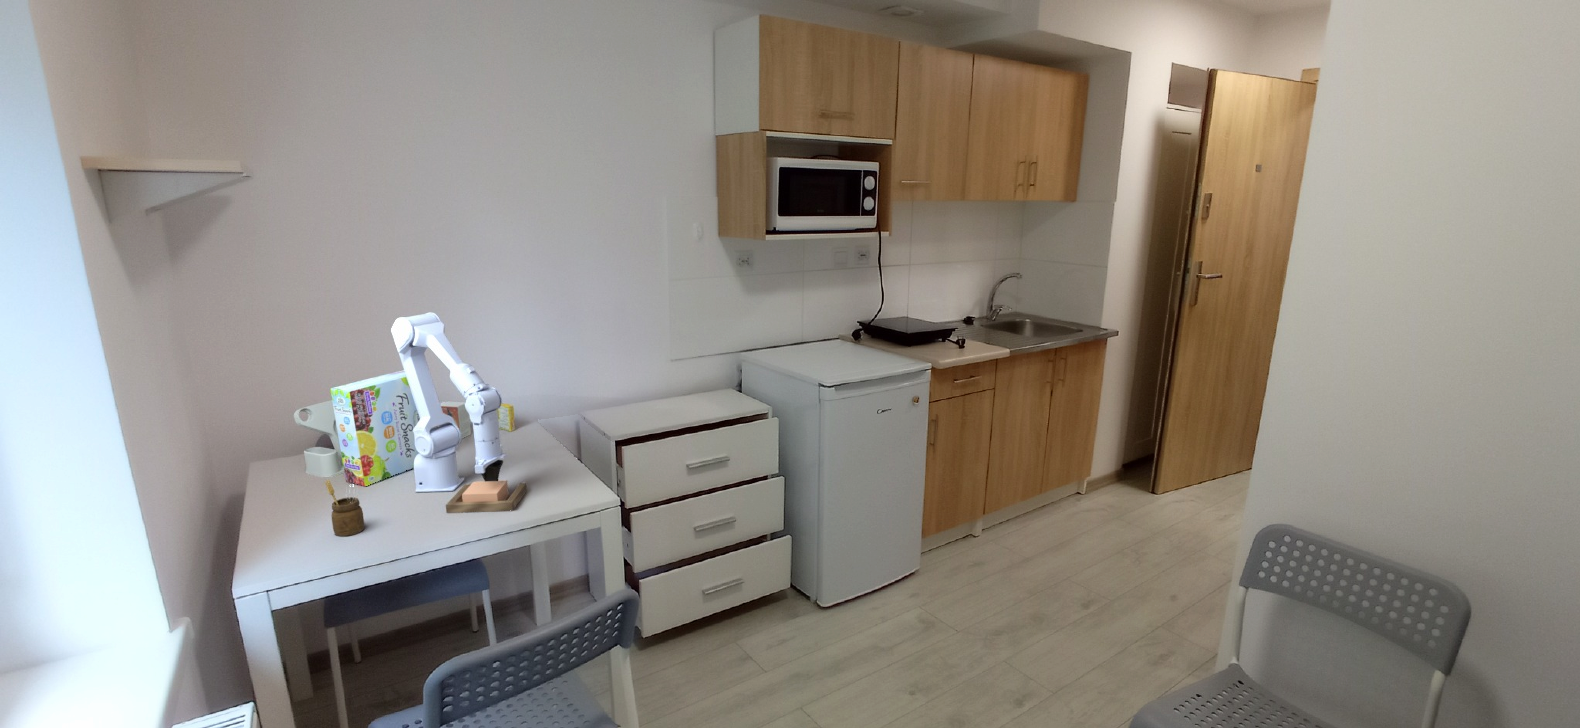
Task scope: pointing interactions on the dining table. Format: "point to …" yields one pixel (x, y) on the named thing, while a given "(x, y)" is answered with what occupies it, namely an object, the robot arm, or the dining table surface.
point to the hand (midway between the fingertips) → (492, 490)
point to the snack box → (376, 427)
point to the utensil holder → (346, 514)
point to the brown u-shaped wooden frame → (484, 502)
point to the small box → (458, 416)
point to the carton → (486, 491)
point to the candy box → (506, 417)
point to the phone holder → (320, 458)
